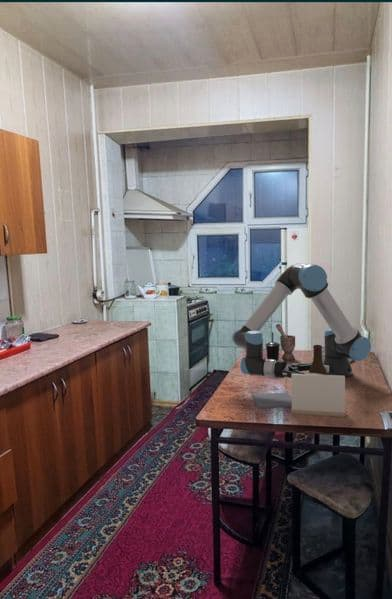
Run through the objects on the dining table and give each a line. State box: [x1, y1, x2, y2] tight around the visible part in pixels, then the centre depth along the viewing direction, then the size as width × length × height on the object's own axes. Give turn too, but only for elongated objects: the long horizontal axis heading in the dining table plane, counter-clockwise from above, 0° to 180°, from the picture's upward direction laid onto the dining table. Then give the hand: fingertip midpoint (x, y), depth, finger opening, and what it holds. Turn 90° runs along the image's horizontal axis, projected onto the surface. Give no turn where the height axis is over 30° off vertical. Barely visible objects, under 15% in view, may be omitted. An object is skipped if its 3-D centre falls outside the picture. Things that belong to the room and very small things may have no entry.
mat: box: [251, 392, 292, 409], centre depth 194 cm, size 16×16×1 cm
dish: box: [311, 346, 353, 363], centre depth 262 cm, size 22×22×5 cm
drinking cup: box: [265, 332, 281, 361], centre depth 242 cm, size 8×8×20 cm
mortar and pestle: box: [275, 323, 296, 361], centre depth 265 cm, size 12×9×20 cm
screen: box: [290, 373, 346, 418], centre depth 178 cm, size 20×6×15 cm, turn 75°
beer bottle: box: [308, 344, 327, 375], centre depth 190 cm, size 8×8×24 cm
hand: (325, 373), depth 189 cm, fingers open, 13 cm apart
